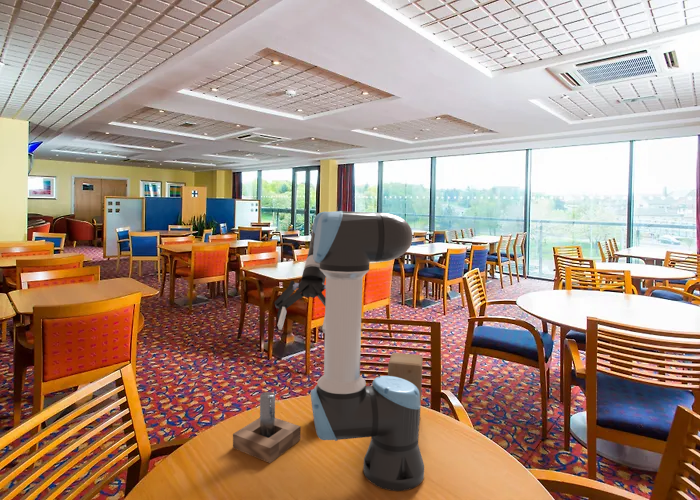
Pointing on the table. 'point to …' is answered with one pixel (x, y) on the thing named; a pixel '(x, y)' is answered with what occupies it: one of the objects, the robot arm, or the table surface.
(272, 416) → the peg
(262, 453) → the square block with hole
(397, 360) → the wooden block
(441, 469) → the table surface
